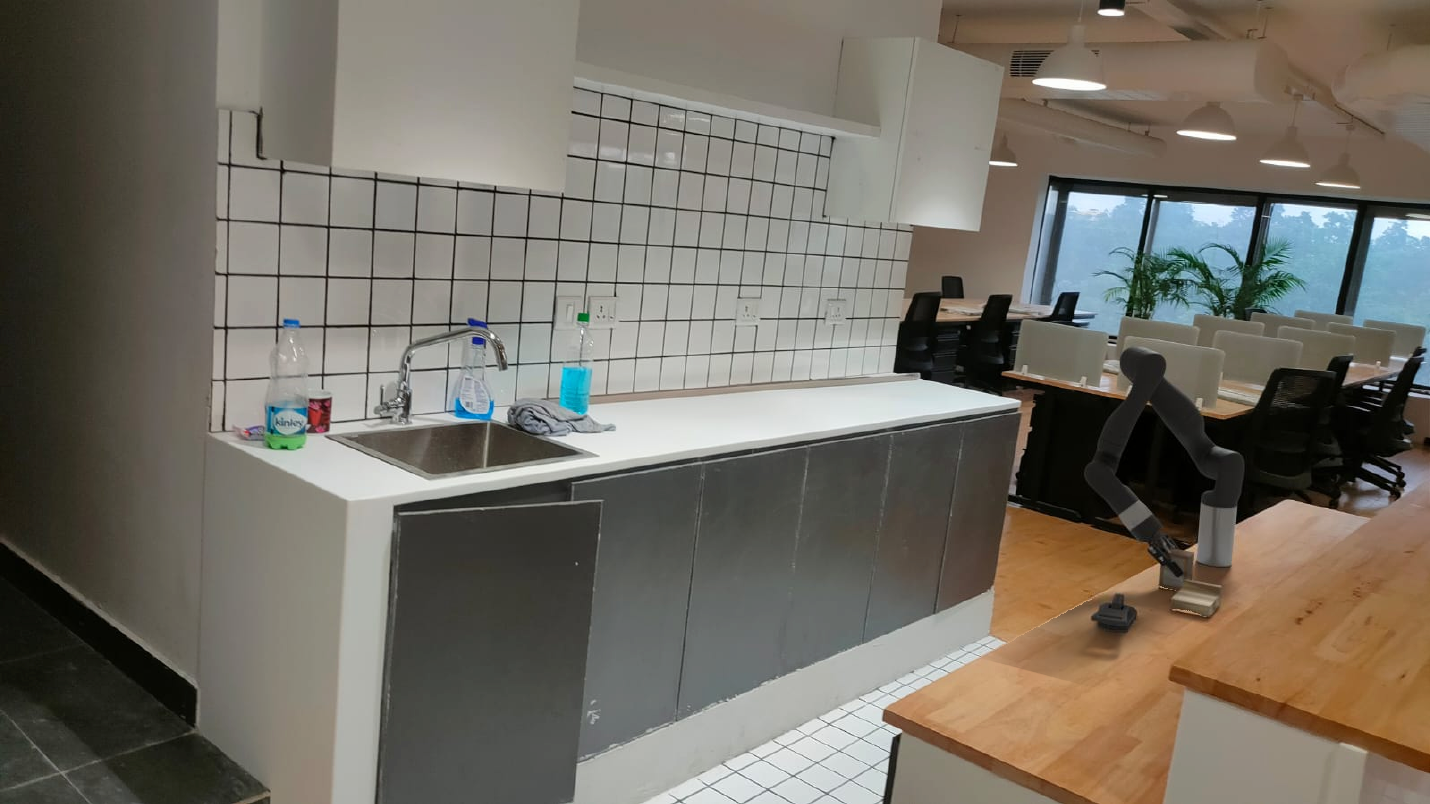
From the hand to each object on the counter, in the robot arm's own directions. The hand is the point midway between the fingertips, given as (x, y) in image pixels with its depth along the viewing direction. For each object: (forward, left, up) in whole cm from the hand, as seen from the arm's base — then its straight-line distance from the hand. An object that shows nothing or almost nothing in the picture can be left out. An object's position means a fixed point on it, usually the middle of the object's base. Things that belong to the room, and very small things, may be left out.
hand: (1183, 572), depth 283 cm
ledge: (+12, +6, -5) cm, 14 cm away
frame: (0, -2, -5) cm, 5 cm away
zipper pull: (+39, -6, -5) cm, 40 cm away
